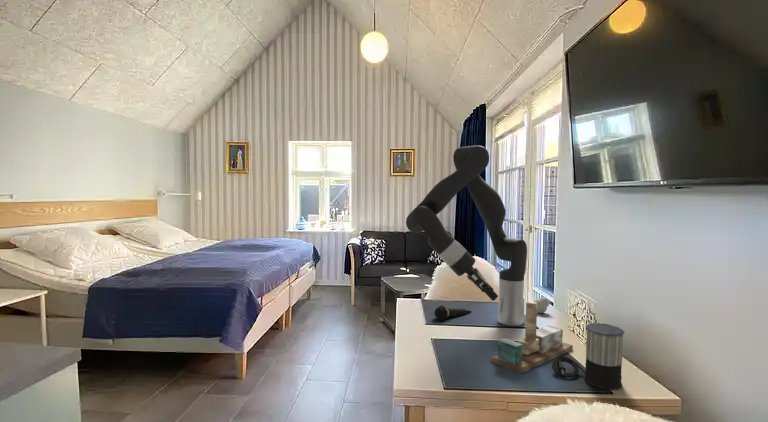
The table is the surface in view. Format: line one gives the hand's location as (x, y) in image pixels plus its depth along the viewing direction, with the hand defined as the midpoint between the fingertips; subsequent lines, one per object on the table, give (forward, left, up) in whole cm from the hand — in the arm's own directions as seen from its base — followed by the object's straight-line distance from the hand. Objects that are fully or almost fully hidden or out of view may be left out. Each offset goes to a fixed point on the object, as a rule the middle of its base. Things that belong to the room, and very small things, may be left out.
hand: (493, 295), depth 128 cm
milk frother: (-8, +26, -19) cm, 33 cm away
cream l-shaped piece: (-13, +8, -17) cm, 23 cm away
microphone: (-21, -34, -20) cm, 45 cm away
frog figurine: (-55, -16, -19) cm, 60 cm away
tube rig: (-10, +8, -19) cm, 23 cm away
